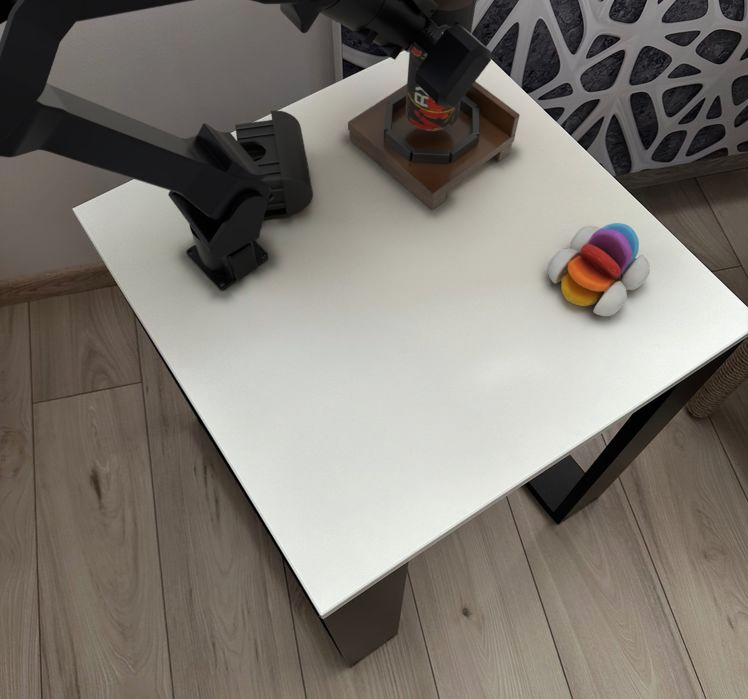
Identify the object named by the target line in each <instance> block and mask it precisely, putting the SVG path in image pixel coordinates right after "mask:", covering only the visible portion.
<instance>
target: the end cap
mask: <svg viewBox="0 0 748 699" xmlns="http://www.w3.org/2000/svg"><path fill="white" fill-rule="evenodd" d="M270 115H271V119H267V120H261V121H253V122H244V123H236V124H234V127H235V135H236V140H237V141H238V143H239V144H240V145H241V146H242V147H243V149H244V150H245V151H246V152H247V153H248V155H249V156H250V157H251V158H252V159H253V161H254V162H255V163H256V164H257V166H258V167H259V168H260V169H261V170H262V172H263V173H264V174H265V175H266V176H265V177H264V178H263V179H264V180H265V181H266V183H267V184H268V185H269V186H270V188H271V191H270V196H269V199H268V202H267V206H266V211H265V215H264V219H263V222H264V221H270V220H277V219H285V218H288V217H292V216H294V215H297V214H299V213H301V212H303V211H305V210H306V209H307V208H308V207H309V206H310V205H311V203H312V201H313V198H314V191H313V185H312V181H311V180H312V179H311V174H310V169H309V163H308V159H307V158H308V157H307V154H306V146H305V141H304V138H303V131H302V127H301V124H300V121H299V120H298V119H297V118H296V116H294V115H292V114H291V113H289V112H286V111H282V110H270Z"/></svg>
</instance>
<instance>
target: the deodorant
mask: <svg viewBox="0 0 748 699" xmlns="http://www.w3.org/2000/svg"><path fill="white" fill-rule="evenodd" d="M433 1H434V2H435V3H436V4H437V5H438V7H437V9H436V10H435V11H434V13H433V14H432V16H431V17H428V18H430V19H431V20H432V21H433V22H434V23H435V24H436V25H437V26H438V27H441V26H442V25H449V26H450V27H452V26H453V25H454V24H455V23H456V22H458V23H459V24H460V25H461V26H462V27H463V28H465V29H466V30H467V31H468V32H470V33H471V34H472V31H473V24H474V23H473V22H474V16H475V10H476V3H477V0H433ZM422 31H423V32H424V33H425V34H426V35H427V36H428V37H429V38H430V39H431V40H432V41H433V40H434V38H432V37H433V36H430V34H428V33H427V32H426V31H425V29H423V30H422ZM424 53H425V51H424V50H423V49H422V48H421V47H420V46H418V45H417V44H416V43H415V42H414V47H413V48H412V50H411V51H410V52H408V65H407V66H408V69H407V80H406V84H407V92H406V106H405V113H406V117H407V118H408V120H409V121H410V122H411V123H412V124H413V125H414V126H416V127H418V128H420V129H423V130H427V131H440V130H443V129H447V128H448V127H450V126H452V125H453V124H454V123H455V122H456V120H457V118H458V115H459V108H460V102H461V100H460V102H459V103H458V104H457V105H456V107H455V108H450V109H446V108H444V107H442V106H440V105H438V104H437V103H436V102H435V101H434V100H433V99H432V98H431V97H430V96H429V95H428V94H427V93H426V92H425V91H424V90H423V89H422V88H420V87H419V86H418V85H417V84H416V83H415V78H416V70H417V69H418V68H419V66H420V65H421V64H422V62H423V61H424V59H425V58H426V57H425V56H424V55H423V54H424Z"/></svg>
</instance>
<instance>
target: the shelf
mask: <svg viewBox="0 0 748 699" xmlns="http://www.w3.org/2000/svg"><path fill="white" fill-rule="evenodd" d="M406 92H407V83H405V84H404V85H403V86H401V87H399V88H397V89H396V90H395V91H394V92H391V93H390V94H389V95H388V96H385V97H384V98H383V99H381V100H379V101H378V102H376V103H375V104H373V105H372V106H371V107H368V108H367V109H366V110H364V111H362V112H361V113H360V114H358V115H356V116H355V117H353V118H352V119H350V120H349V121H347V130H348V131H349V141H351V143H353V144H354V145H355V146H356V147H358V148H359V149H360V150H361V151H362V152H364V153H365V154H366V155H367V156H368V157H369V158H370V159H371V160H373V161H374V162H375V163H376V164H377V165H378V166H380V167H381V168H382V169H383V170H384V171H386V172H387V173H388V174H389V175H390V176H391V177H393V179H395V180H396V181H397V182H398V183H400V184H401V185H402V186H403V187H404V188H405V189H406V190H408V191H409V192H410V193H411V194H412V195H413V196H414V197H415V198H417V199H418V200H419V201H420V202H422V204H424V205H425V206H426V207H428V208H429V210H431V211H433V210H435V209H436V208H438V207H440V205H442V204H443V203H445V202H446V196H447V191H448V190H449V189H451V188H452V187H453V186H455V185H456V184H458V183H459V182H461V181H462V180H463V179H464V178H466V177H468V175H471V173H473V172H474V171H476V170H477V169H478V168H480V167H482V165H484V164H485V163H486V162H488V161H489V160H491V159H492V158H493V159H494V160H495V161H497V162H500V161H502V160H503V159H504V158H506V157H507V156H508V155H510V154H511V150H512V145H513V143H514V142H515V139H516V133H517V130H518V124H519V120H520V116H521V114H520V113H519V112H517V111H516V110H514V109H513V108H512V107H511V106H509V105H508V104H507V103H505V102H504V101H502V100H501V99H500V98H498V97H497V96H496V95H494V94H493V93H492V92H490V91H489V90H488V89H487V88H485V87H484V86H482V85H481V84H480V83H479V82H477V81H475V82H474V83H473V85H472V86H471V87H470V88H469V90H468V91H467V92H466V94H465V95H464V96H463V98H462V99H461V102H460V108H459V115H458V118H457V120H456V122H455V123H454V124H453V125H452V126H450V127H448V128H447V129H443V130H440V131H427V130H423V129H420V128H418V127H416V126H414V125H413V124H412V123H411V122H410V121H409V120H408V118H407V117H406V113H405V106H406Z"/></svg>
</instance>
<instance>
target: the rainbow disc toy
mask: <svg viewBox="0 0 748 699" xmlns="http://www.w3.org/2000/svg"><path fill="white" fill-rule="evenodd" d="M639 250H640V241H639V238H638V235H637V233H636V232H635V230H634V228H632V227H631V226H630V225H628V224H626V223H623V222H614V223H610V224H606V225H605V226H603V227H599V226H598V225H585V226H583V227H581V228H579V229H578V230H577V231H576V232H575V234H574V235H573V237H572V239H571V241H570V248H563V249H560V250H558V251H557V252H555V254H554V255H552V258H550V260H549V263H548V264H547V273H548V277H549V279H550V280H551V282H552V283H553V284H558V283H560V282H561V283H560V289H561V293H562V295H563V297H564V298H565V299H566V301H567V302H569V303H571V304H573V305H576V306H580V307H588V306H592V305H595V304H596V305H595V306H594V308H593V313H594V314H596V315H598V316H601V317H610V316H613V315H615V314H617V313H618V311H620V309H622V307H623V306H624V304H626V301H627V299H628V293H627V291H633V290H636V289H638V288H640V287H641V286H642V285H643V284H644V282H645V281H646V279H647V278H648V277H649V275H650V274H651V273H650V272H651V265H650V263H649V261H648V259H647V258H646V256H645V255H644V254H640V255H638V254H639ZM637 256H638V257H637Z"/></svg>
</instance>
